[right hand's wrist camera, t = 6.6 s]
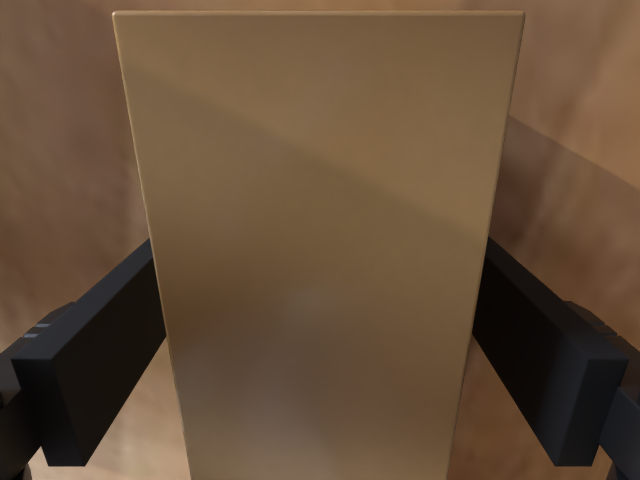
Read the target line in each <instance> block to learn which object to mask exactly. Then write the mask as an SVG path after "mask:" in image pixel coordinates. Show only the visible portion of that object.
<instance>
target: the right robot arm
mask: <svg viewBox="0 0 640 480" xmlns="http://www.w3.org/2000/svg"><path fill="white" fill-rule="evenodd" d="M472 334H473V336H474V337H475V339H476V341H477V342H478V344H479V345H480V347H481V349H482V350H483V352H484V353H485V355H486V357H487V358H488V360H489V361H490V363H491V365H492V366H493V368H494V369H495V371H496V373H497V374H498V376H499V377H500V379H501V381H502V382H503V384H504V385H505V387H506V389H507V390H508V392H509V393H510V395H511V397H512V398H513V400H514V401H515V403H516V405H517V406H518V408H519V409H520V411H521V413H522V414H523V416H524V417H525V419H526V421H527V422H528V424H529V425H530V427H531V429H532V430H533V432H534V433H535V435H536V437H537V438H538V440H539V441H540V443H541V445H542V446H543V448H544V449H545V451H546V453H547V454H548V456H549V457H550V459H551V461H552V462H553V464H554V465H555V466H592V464H593V461H594V458H595V455H596V452H597V450H598V447H599V444H600V445H601V447H602V448H603V449H604V451H605V452H606V453H607V454H608V456H609V457H610V458H611V459H612V461H613V462H612V465H611V467H610V470H609V473H608V475H607V478H606V480H640V352H639V351H638V350H637V349H636V348H634V347H633V346H632V345H631V344H629V343H628V342H627V341H626V340H625V339H623V338H622V337H621V336H617V333H616V332H615V331H614V330H612V329H611V328H610V327H609V326H605V323H604V322H603V321H601V320H600V319H599V318H598V317H597V316H595V315H594V314H593V313H592V312H590V311H589V310H587V309H585V308H583V307H581V306H579V305H577V304H575V303H573V302H571V301H563V300H561V299H560V298H559V297H558V296H557V295H556V294H555V293H553V292H552V291H551V290H550V289H549V288H548V287H546V286H545V285H544V284H543V283H542V282H541V281H540V280H538V279H537V278H536V277H535V276H534V275H533V274H531V273H530V272H529V271H528V270H527V269H526V268H525V267H523V266H522V265H521V264H520V263H519V262H518V261H516V260H515V259H514V258H513V257H512V256H511V255H510V254H508V253H507V252H506V251H505V250H504V249H503V248H502V247H500V246H499V245H498V244H497V243H496V242H495V241H493V240H492V239H491V238H490V237H489V236H488V240H487V245H486V251H485V257H484V263H483V269H482V275H481V281H480V287H479V293H478V298H477V304H476V310H475V316H474V322H473V328H472ZM166 336H167V335H166V329H165V323H164V317H163V312H162V306H161V300H160V294H159V288H158V283H157V277H156V271H155V265H154V259H153V253H152V248H151V242H150V238H149V239H148V240H147V241H145V242H144V243H143V244H142V245H141V246H140V247H138V248H137V249H136V250H135V251H134V252H133V253H132V254H130V255H129V256H128V257H127V258H126V259H125V260H124V261H122V262H121V263H120V264H119V265H118V266H117V267H115V268H114V269H113V270H112V271H111V272H110V273H109V274H107V275H106V276H105V277H104V278H103V279H102V280H100V281H99V282H98V283H97V284H96V285H95V286H94V287H92V288H91V289H90V290H89V291H88V292H87V293H85V294H84V295H83V296H82V297H81V298H80V299H79V300H77V301H76V302H70V303H68V304H66V305H64V306H62V307H60V308H58V309H56V310H54V311H52V312H51V313H49V314H48V315H47V316H46V317H44V318H43V319H42V320H41V321H40V322H38V323H37V324H36V327H32V328H31V329H30V330H29V331H27V332H26V333H25V334H24V336H23V337H20V338H19V339H18V340H17V341H15V342H14V343H13V344H12V345H11V346H9V347H8V348H7V349H6V350H4V351H3V352H2V353H1V354H0V480H32V476H31V470H30V467H29V465H28V462H29V460H30V459H31V458H32V457H33V455H34V454H35V453H36V452H37V450H38V449H39V448H40V446H41V447H42V450H43V452H44V455H45V458H46V461H47V464H48V466H85V465H86V464H87V462H88V461H89V459H90V457H91V456H92V454H93V453H94V451H95V449H96V448H97V446H98V445H99V443H100V441H101V440H102V438H103V437H104V435H105V433H106V432H107V430H108V429H109V427H110V425H111V424H112V422H113V421H114V419H115V417H116V416H117V414H118V413H119V411H120V409H121V408H122V406H123V405H124V403H125V401H126V400H127V398H128V397H129V395H130V393H131V392H132V390H133V389H134V387H135V385H136V384H137V382H138V381H139V379H140V377H141V376H142V374H143V373H144V371H145V369H146V368H147V366H148V365H149V363H150V361H151V360H152V358H153V357H154V355H155V353H156V352H157V350H158V349H159V347H160V345H161V344H162V342H163V341H164V339H165V337H166Z"/></svg>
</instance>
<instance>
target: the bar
mask: <svg viewBox="0 0 640 480" xmlns="http://www.w3.org/2000/svg"><path fill="white" fill-rule="evenodd" d="M112 21H113V27H114V32H115V38H116V44H117V50H118V56H119V61H120V67H121V73H122V79H123V85H124V91H125V96H126V102H127V108H128V114H129V120H130V125H131V131H132V137H133V143H134V149H135V155H136V160H137V166H138V172H139V178H140V184H141V189H142V195H143V201H144V207H145V213H146V219H147V224H148V230H149V236H150V242H151V248H152V253H153V259H154V265H155V271H156V277H157V283H158V288H159V294H160V300H161V306H162V312H163V317H164V323H165V329H166V335H167V341H168V347H169V352H170V358H171V364H172V370H173V376H174V381H175V387H176V393H177V399H178V405H179V411H180V416H181V422H182V428H183V434H184V440H185V445H186V451H187V457H188V463H189V469H190V475H191V480H447V475H448V469H449V463H450V457H451V452H452V446H453V440H454V434H455V428H456V422H457V416H458V410H459V404H460V399H461V393H462V387H463V381H464V375H465V369H466V363H467V357H468V351H469V346H470V340H471V334H472V328H473V322H474V316H475V310H476V304H477V298H478V293H479V287H480V281H481V275H482V269H483V263H484V257H485V251H486V245H487V240H488V234H489V228H490V222H491V216H492V210H493V204H494V198H495V192H496V187H497V181H498V175H499V169H500V163H501V157H502V151H503V145H504V139H505V134H506V128H507V122H508V116H509V110H510V104H511V98H512V92H513V86H514V81H515V75H516V69H517V63H518V57H519V51H520V45H521V39H522V33H523V28H524V22H525V13H524V12H522V11H520V10H117V11H115V12H113V13H112Z"/></svg>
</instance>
